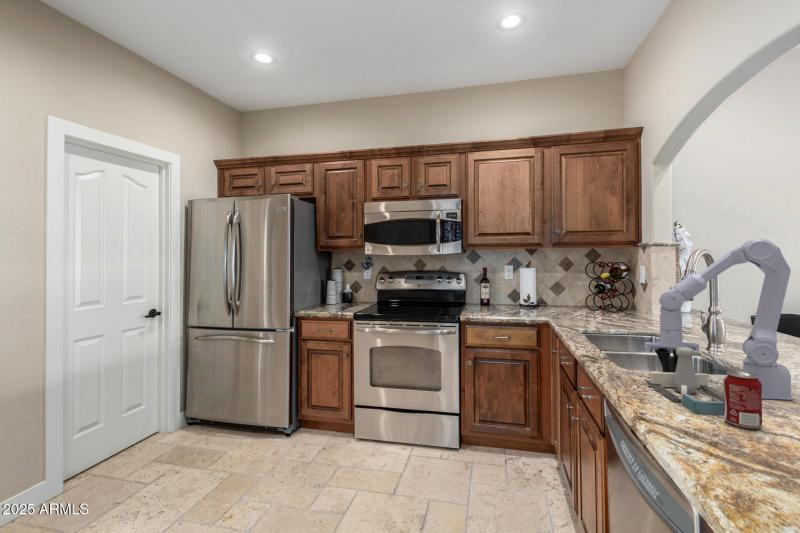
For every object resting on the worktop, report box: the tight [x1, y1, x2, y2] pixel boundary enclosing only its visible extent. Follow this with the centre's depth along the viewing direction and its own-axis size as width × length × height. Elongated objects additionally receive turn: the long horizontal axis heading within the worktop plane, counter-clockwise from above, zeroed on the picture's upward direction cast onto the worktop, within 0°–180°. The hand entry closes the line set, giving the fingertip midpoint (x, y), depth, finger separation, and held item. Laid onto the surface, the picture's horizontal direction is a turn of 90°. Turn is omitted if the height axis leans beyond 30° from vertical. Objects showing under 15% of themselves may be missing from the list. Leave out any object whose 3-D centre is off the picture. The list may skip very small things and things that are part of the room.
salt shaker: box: [673, 347, 698, 395], centre depth 113 cm, size 6×6×13 cm
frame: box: [680, 385, 724, 416], centre depth 100 cm, size 12×7×5 cm, turn 79°
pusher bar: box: [649, 355, 709, 389], centre depth 121 cm, size 15×8×8 cm, turn 79°
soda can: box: [722, 369, 763, 430], centre depth 91 cm, size 7×7×12 cm
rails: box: [645, 379, 724, 404], centre depth 112 cm, size 15×17×1 cm
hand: (671, 372), depth 121 cm, fingers closed on pusher bar, 2 cm apart
